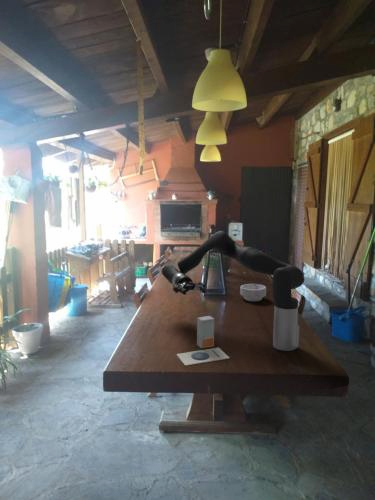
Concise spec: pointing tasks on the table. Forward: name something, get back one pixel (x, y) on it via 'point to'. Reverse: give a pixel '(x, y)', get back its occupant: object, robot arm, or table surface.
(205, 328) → the skincare box
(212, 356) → the paper sheet
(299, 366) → the table surface
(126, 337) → the table surface
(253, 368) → the table surface
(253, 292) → the paper bowls
